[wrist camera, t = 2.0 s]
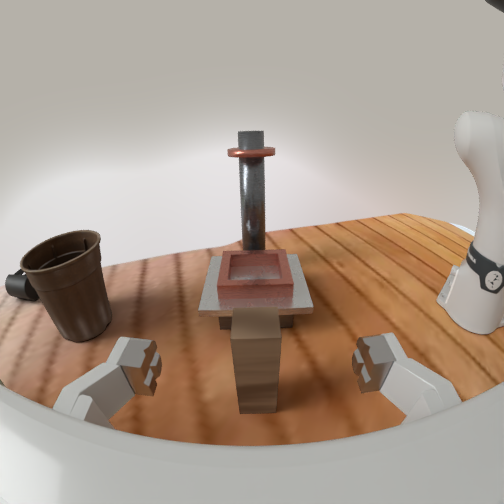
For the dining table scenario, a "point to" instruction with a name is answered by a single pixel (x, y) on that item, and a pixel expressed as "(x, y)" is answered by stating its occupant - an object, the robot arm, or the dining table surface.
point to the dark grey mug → (20, 286)
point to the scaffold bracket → (254, 253)
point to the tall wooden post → (256, 358)
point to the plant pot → (70, 283)
